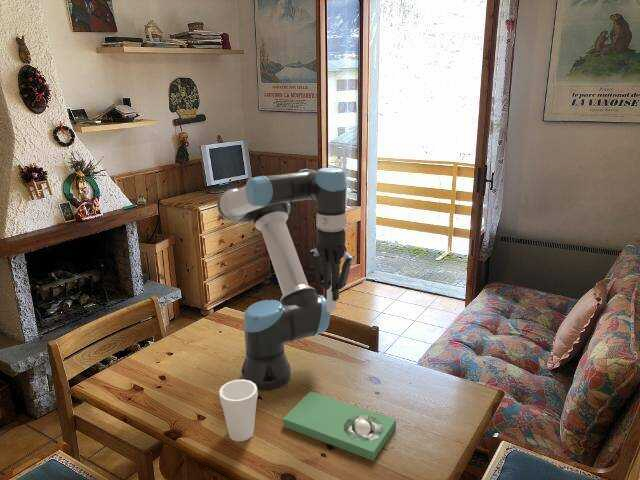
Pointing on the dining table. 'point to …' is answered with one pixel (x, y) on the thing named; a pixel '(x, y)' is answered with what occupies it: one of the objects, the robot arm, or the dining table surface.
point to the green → (339, 424)
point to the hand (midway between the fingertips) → (331, 310)
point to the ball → (362, 427)
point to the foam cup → (239, 408)
